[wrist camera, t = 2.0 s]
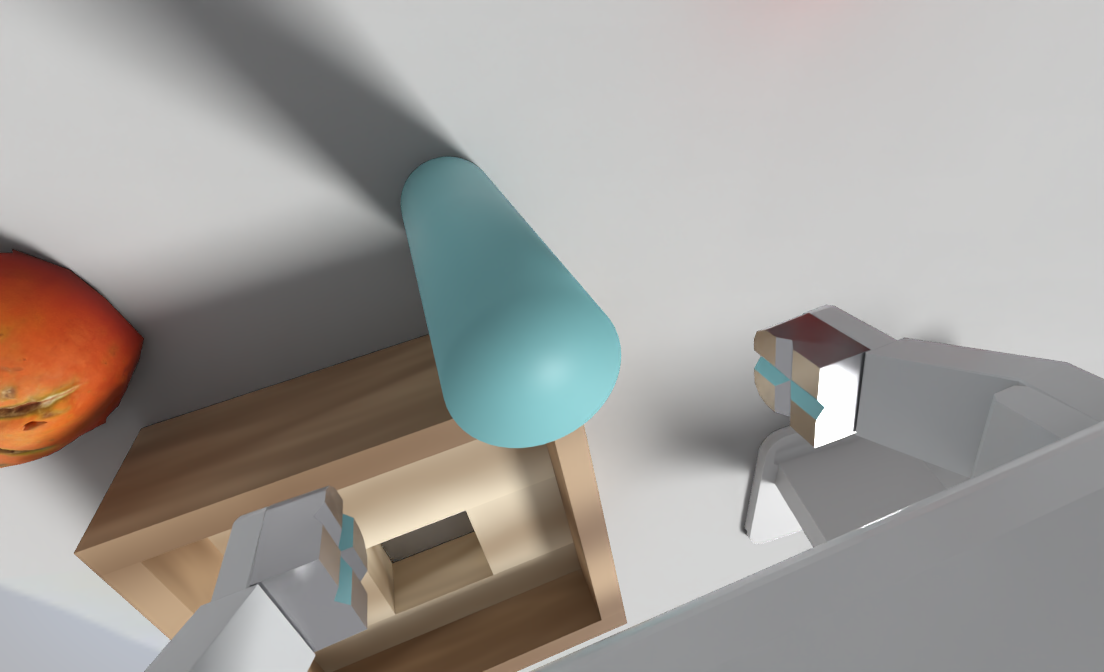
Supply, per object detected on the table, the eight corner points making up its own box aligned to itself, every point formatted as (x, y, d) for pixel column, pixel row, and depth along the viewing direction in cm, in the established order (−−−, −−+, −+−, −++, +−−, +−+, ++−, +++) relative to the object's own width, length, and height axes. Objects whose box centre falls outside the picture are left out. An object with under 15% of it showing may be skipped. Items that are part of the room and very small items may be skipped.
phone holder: (981, 371, 37) (1407, 607, 22) (935, 478, 42) (1254, 727, 27) (761, 433, 33) (1097, 772, 18) (741, 542, 38) (987, 876, 23)
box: (141, 428, 21) (73, 553, 16) (527, 301, 23) (573, 375, 18) (316, 639, 30) (308, 762, 25) (585, 530, 32) (626, 623, 27)
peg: (386, 171, 19) (415, 327, 9) (482, 145, 20) (608, 265, 10) (418, 262, 21) (472, 471, 11) (505, 235, 22) (630, 412, 12)
